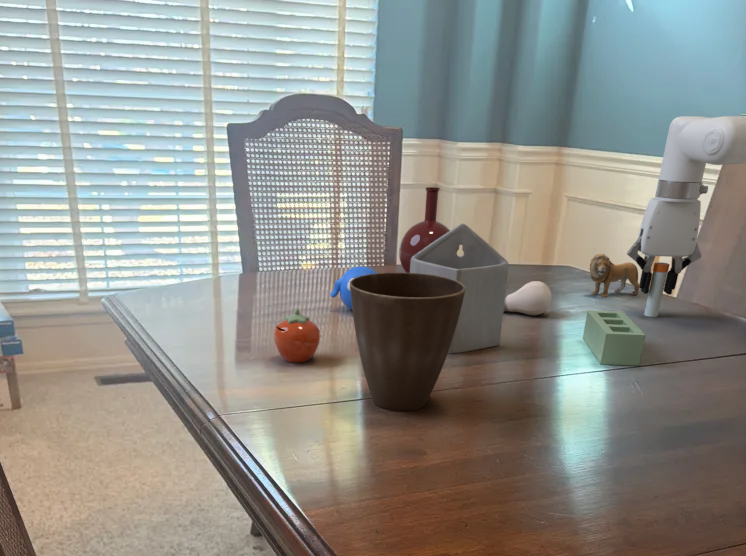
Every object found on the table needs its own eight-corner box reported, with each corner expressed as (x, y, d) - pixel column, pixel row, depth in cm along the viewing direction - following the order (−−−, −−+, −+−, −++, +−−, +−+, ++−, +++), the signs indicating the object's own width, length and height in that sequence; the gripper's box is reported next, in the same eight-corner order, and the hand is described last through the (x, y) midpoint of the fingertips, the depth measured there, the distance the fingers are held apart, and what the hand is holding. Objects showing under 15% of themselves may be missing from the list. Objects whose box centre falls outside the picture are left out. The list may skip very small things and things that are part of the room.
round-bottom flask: (391, 276, 184) (396, 185, 174) (444, 275, 186) (452, 185, 176) (405, 288, 173) (411, 191, 163) (461, 287, 175) (470, 191, 165)
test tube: (656, 314, 156) (667, 262, 151) (659, 317, 153) (671, 265, 148) (641, 313, 156) (652, 262, 151) (645, 317, 154) (656, 264, 149)
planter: (401, 350, 129) (408, 227, 120) (405, 338, 136) (413, 220, 126) (499, 357, 127) (514, 232, 117) (499, 344, 134) (513, 225, 124)
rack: (582, 338, 138) (587, 310, 136) (617, 339, 138) (623, 311, 136) (600, 364, 125) (606, 333, 122) (639, 365, 124) (645, 335, 122)
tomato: (268, 355, 126) (267, 305, 122) (311, 351, 128) (311, 302, 124) (281, 368, 120) (280, 316, 116) (326, 363, 122) (327, 312, 118)
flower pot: (476, 404, 107) (489, 285, 99) (404, 430, 98) (413, 302, 90) (396, 378, 116) (402, 268, 108) (324, 400, 107) (325, 281, 99)
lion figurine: (595, 300, 166) (603, 256, 162) (578, 295, 170) (585, 252, 166) (645, 294, 172) (654, 252, 167) (627, 289, 176) (636, 248, 172)
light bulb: (490, 288, 151) (547, 277, 147) (496, 289, 157) (551, 278, 153) (494, 323, 153) (551, 312, 148) (500, 322, 158) (555, 312, 154)
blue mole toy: (330, 320, 146) (331, 274, 142) (329, 305, 157) (330, 262, 152) (393, 320, 147) (396, 275, 143) (388, 306, 157) (390, 263, 153)
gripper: (716, 191, 146) (693, 290, 155) (627, 188, 147) (608, 287, 156) (730, 195, 140) (704, 298, 149) (636, 192, 141) (617, 295, 150)
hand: (655, 291), depth 152 cm, fingers open, 3 cm apart
